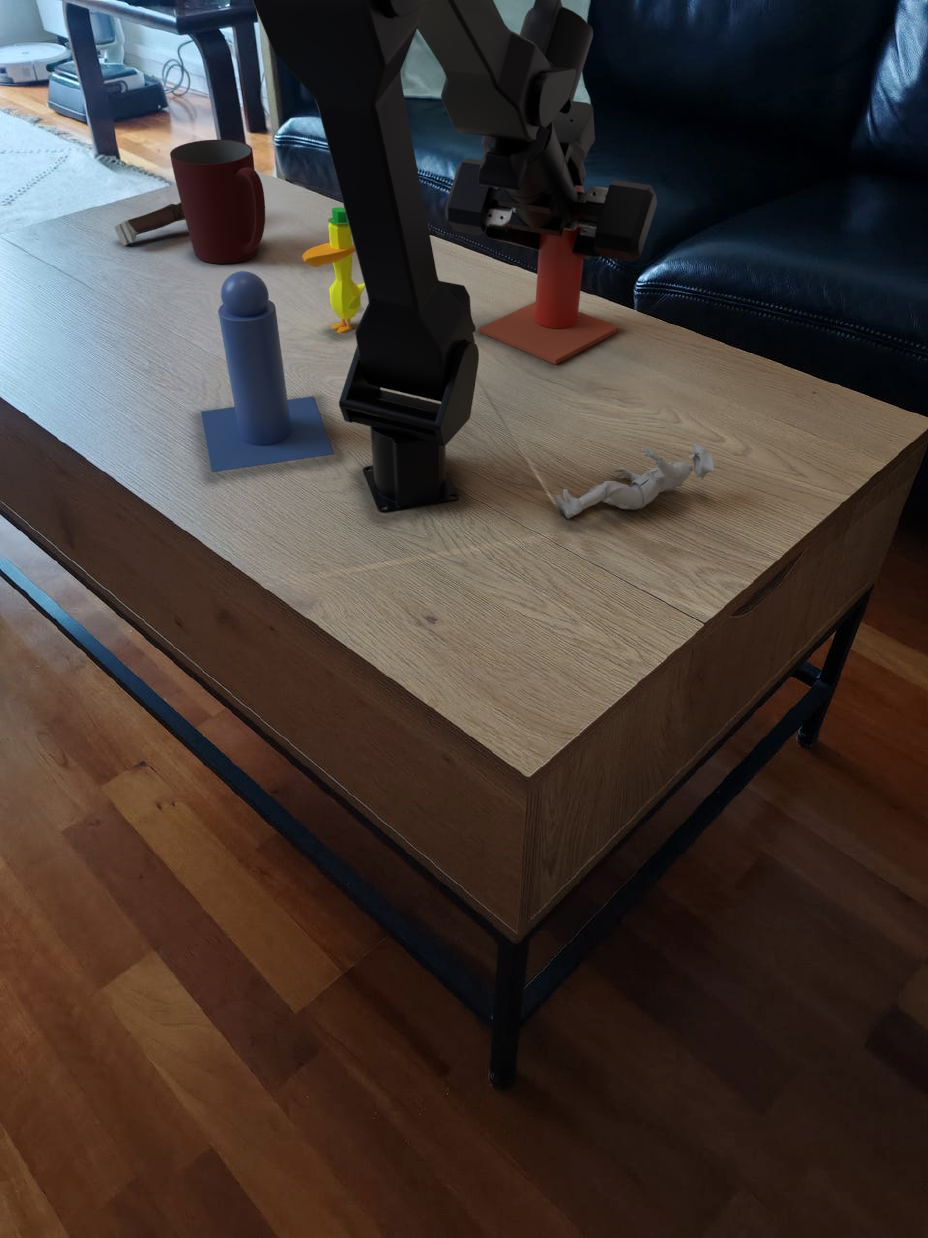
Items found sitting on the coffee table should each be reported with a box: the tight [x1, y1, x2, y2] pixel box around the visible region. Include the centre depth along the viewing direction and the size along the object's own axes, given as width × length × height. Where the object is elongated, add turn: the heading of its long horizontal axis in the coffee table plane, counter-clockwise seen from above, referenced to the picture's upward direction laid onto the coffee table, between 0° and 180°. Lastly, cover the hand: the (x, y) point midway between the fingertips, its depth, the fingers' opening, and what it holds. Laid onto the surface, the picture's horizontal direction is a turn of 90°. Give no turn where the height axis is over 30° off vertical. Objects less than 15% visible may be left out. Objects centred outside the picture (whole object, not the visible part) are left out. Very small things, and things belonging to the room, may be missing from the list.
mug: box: [169, 139, 266, 264], centre depth 109 cm, size 12×9×11 cm
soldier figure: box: [555, 442, 715, 519], centre depth 75 cm, size 8×5×12 cm
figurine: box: [114, 201, 186, 246], centre depth 116 cm, size 8×5×15 cm
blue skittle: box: [217, 270, 291, 445], centre depth 78 cm, size 4×4×14 cm
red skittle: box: [535, 185, 585, 328], centre depth 95 cm, size 4×4×14 cm
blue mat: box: [200, 395, 335, 473], centre depth 83 cm, size 10×10×1 cm
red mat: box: [479, 301, 620, 365], centre depth 98 cm, size 10×10×1 cm
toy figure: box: [301, 206, 365, 334], centre depth 94 cm, size 7×4×12 cm, turn 129°
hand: (565, 250), depth 96 cm, fingers closed on red skittle, 4 cm apart
